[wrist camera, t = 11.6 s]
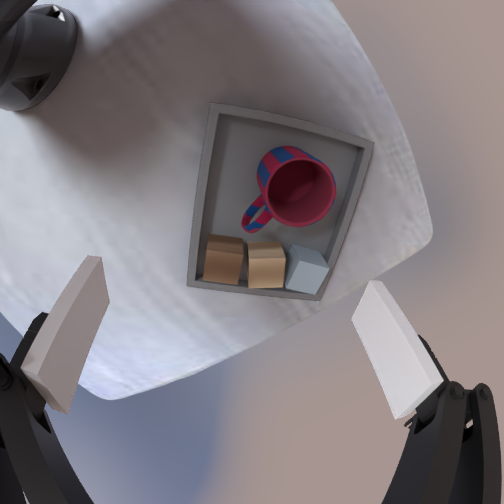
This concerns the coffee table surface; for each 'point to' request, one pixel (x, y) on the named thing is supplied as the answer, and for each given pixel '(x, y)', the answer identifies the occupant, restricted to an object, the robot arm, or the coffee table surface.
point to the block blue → (304, 269)
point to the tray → (247, 190)
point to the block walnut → (223, 259)
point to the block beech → (265, 264)
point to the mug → (291, 189)
